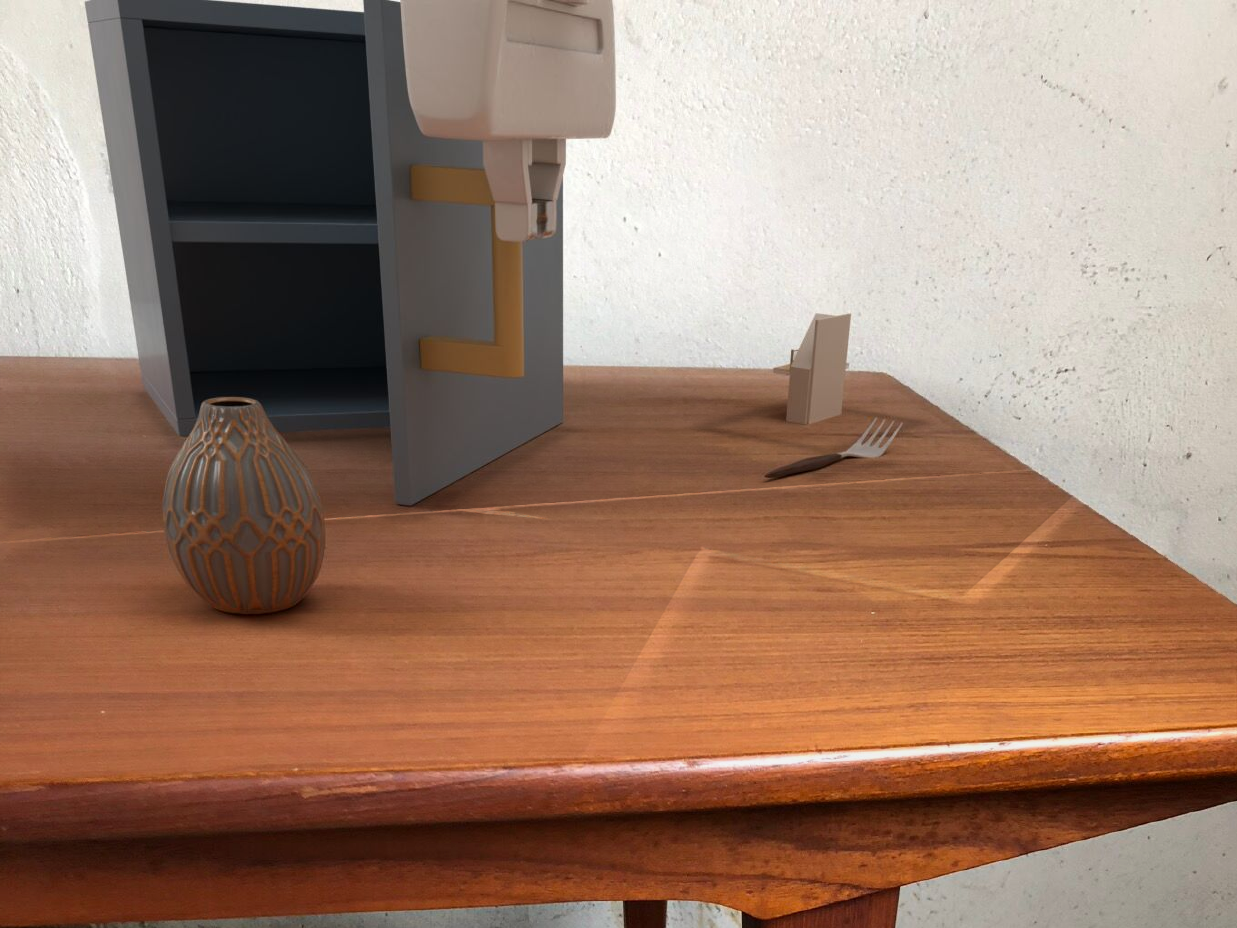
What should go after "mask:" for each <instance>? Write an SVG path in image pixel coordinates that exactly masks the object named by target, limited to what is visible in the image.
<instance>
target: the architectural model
mask: <svg viewBox="0 0 1237 928" xmlns="http://www.w3.org/2000/svg"><path fill="white" fill-rule="evenodd" d="M851 318H852V313H849V312H848V313H844V314H839V315H833V314H827V313H819V312H816V313H814V316H813V318H812V320H811V322H810V325H809V326H808V328H807V331H806V333H805V335H804V337H803V339H802V341H801V344H800V346H799V348H798V349H791V350H790V358H789V359H790V361H789V363H788V364H784V365H780V366H776V367H775V366H774V367H773V369H772V370H773V372H772V373H773V374H776V375H777V374H778V375H784V376H789V379H788V380H789V381H788V394H787V405H786V416H785V417H786V419H785V422H789V423H795V424H800V425H801V424H802V425H812V424H815V423H818V422H822V421H824V420H829V419H832V418H835V417H837V416H841V415H842V409H843V401H844V389H845V380H846V370H847V369H850V363H849V362H848V361H847V359H848V350H849V340H850V330H851V329H850V328H851V320H852V319H851ZM795 352H796V353H795Z"/></svg>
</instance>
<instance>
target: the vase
mask: <svg viewBox="0 0 1237 928" xmlns="http://www.w3.org/2000/svg"><path fill="white" fill-rule="evenodd" d="M162 496H163V497H162V521H163V527H164V528H163V529H164V535H165V538H166V542H167V547H168V550H169V552H170V556H171V558H172V561H173V563H174V565H175V567H176V569H177V571H178V573H179V574H180V576H181V578H182V579H183V582H184V583H186V585H187V586H188V587H189V588H190V590H192V591H193V593H194V594H196V595H197V596H198V597H199V598H200V599H201V600H203V601H204V602H205V603H207V604H208V605H209V606H210V607H212V608H214V609H216V610H218V611H220V612H224V613H229V614H237V615H263V614H271V613H276V612H281V611H285V610H289V609H290V608H292V607H294V606H296V605H297V604H299V602H301V600H303V598H304V597H305V596H306V595H307V594H308V592H309V591H310V590H311V589H312V588H313V586H314V584H315V583H316V582H317V581H316V580H317V579H318V577H319V574H320V571H321V569H322V566H323V561H324V556H325V550H326V519H325V512H324V508H323V503H322V499H321V496H320V492H319V490H318V488H317V485H316V482H315V480H314V478H313V476H312V474H311V473H310V470H309V469H308V467H307V466H306V463H305V462H304V461H303V460H302V458H301V457H300V456H299V454H298V453H297V452H296V451H295V449H293V448H292V446H291V445H290V444H289V443H288V442H287V440H286V439H285V438H284V437H283V436H282V435H281V434H280V432H277V430H276V429H275V428H274V427H273V425H272V424H271V422H270V421H269V419H268V417H267V415H266V413H265V412H264V410H263V408H262V406H261V404H260V403H259V402H258V401H257V400H254V399H250V398H243V397H219V398H212V399H208V400H205V401H204V402H203V403H202V405H201V408H200V412H199V416H198V419H197V422H196V424H195V426H194V428H193V430H192V432H191V433H190V435H189V436H187V438H186V440H185V441H184V442H183V445H182V446H181V447H180V449H179V451H178V452H177V454H176V456H175V458H174V459H173V461H172V463H171V465H170V468H169V470H168V474H167V476H166V480H165V484H164V491H163V495H162Z"/></svg>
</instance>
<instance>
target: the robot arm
mask: <svg viewBox="0 0 1237 928" xmlns="http://www.w3.org/2000/svg"><path fill="white" fill-rule="evenodd" d="M399 2H400V3H401V20H402V34H403V47H404V59H405V69H406V79H407V88H408V95H409V100H410V104H411V107H412V110H413V113H414V116H415V119H416V122H417V124H418V126H419V129H420V131H421V132H422V134H423V135H425V136H428V137H438V138H448V139H462V140H483V165H484V169H485V172H486V176H487V179H488V183H489V186H490V190H491V193H492V196H493V200H494V201H495V232H496V234H497V237H498V238H499V239H501V240H502V241H511V242H526V241H529V240H532V239H534V238H546V237H550V236H552V235H554V233H555V231H556V200H557V199H558V194H559V190H560V186H561V182H562V178H563V179H564V173H565V169H566V164H567V140H586V139H587V140H590V139H607V138H609V137H610V136H611V134H612V131H613V127H614V122H615V117H616V110H617V75H616V73H617V72H616V71H617V70H616V69H617V67H616V66H617V65H616V64H617V63H616V35H615V33H616V29H615V15H614V12H615V11H614V5H613V0H400V1H399Z"/></svg>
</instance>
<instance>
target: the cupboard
mask: <svg viewBox="0 0 1237 928" xmlns="http://www.w3.org/2000/svg"><path fill="white" fill-rule="evenodd" d="M84 6H85V7H84V8H85V13H86V20H87V27H88V33H89V40H90V46H91V52H92V53H91V54H92V60H93V61H92V62H93V67H94V74H95V79H96V87H97V92H98V100H99V106H100V112H101V119H102V126H103V131H104V138H105V145H106V152H107V158H108V159H107V160H108V165H109V166H108V167H109V171H110V172H109V173H110V177H111V179H110V180H111V185H112V193H113V198H114V205H115V211H116V218H117V225H118V231H119V238H120V243H121V245H120V246H121V251H122V257H123V264H124V270H125V271H124V272H125V276H126V284H127V290H128V297H129V303H130V311H131V316H132V322H133V329H134V330H133V331H134V336H135V342H136V343H135V344H136V350H137V355H138V362H139V363H138V364H139V369H140V375H141V381H142V382H141V383H142V387H143V389H144V390H145V391H146V393H147V394H148V396H149V397H150V398H151V400H152V401H153V403H154V404H155V406H157V408H158V409H159V411H160V413H162V415H163V416H164V418H165V419H166V420H167V422H168V424H169V425H170V426H171V427H172V429H173V430H174V432H175V433H176V434H177V436H178V437H182V438H183V437H189V435H190V433H191V432H192V430H193V428H194V426H195V424H196V422H197V419H198V416H199V412H200V408H201V405H202V403H203V402H204V401H205V400H208V399H212V398H219V397H243V398H250V399H254V400H257V401H258V402H259V403H260V404H261V406H262V408H263V410H264V412H265V413H266V415H267V417H268V419H269V421H270V422H271V424H272V425H273V427H274V428H275V429H276V430H277V432H278V433H295V432H317V431H318V432H319V431H338V430H362V429H383V428H385V429H386V428H387V429H388V428H391V426H390V410H389V395H388V379H387V364H386V348H385V332H384V317H383V301H382V286H381V270H380V254H379V239H378V223H377V207H376V192H375V176H374V161H373V145H372V129H371V114H370V98H369V83H368V67H367V51H366V36H365V20H364V11H355V10H342V9H330V8H328V9H327V8H317V7H304V6H291V5H280V4H279V5H278V4H266V3H254V2H242V1H241V2H240V1H230V0H229V1H226V0H85V1H84Z"/></svg>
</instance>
